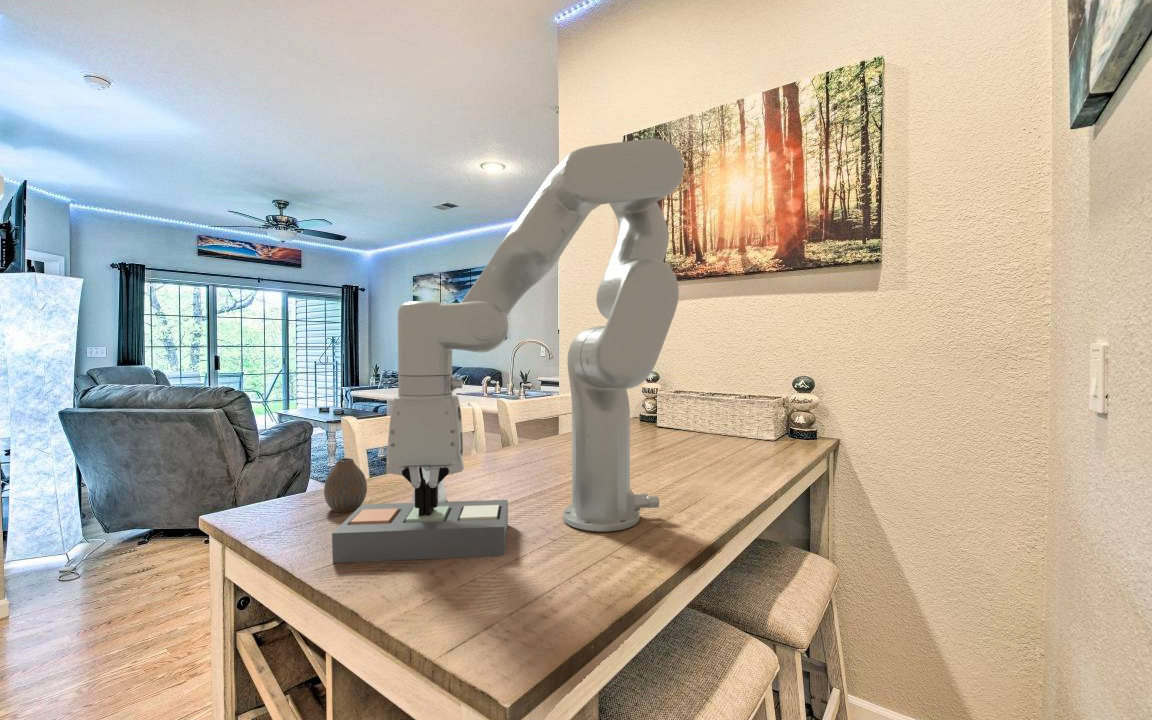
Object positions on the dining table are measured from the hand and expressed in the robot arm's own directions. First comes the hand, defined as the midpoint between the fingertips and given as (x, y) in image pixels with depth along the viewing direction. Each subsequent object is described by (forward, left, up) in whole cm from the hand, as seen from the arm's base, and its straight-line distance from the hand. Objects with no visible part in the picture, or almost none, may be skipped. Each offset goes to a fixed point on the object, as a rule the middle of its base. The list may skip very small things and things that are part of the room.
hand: (426, 512), depth 74 cm
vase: (+17, -17, -5) cm, 25 cm away
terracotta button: (+7, 0, -4) cm, 8 cm away
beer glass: (+3, -19, -5) cm, 20 cm away
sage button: (0, 0, -4) cm, 4 cm away
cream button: (-8, 0, -4) cm, 9 cm away
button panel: (0, 0, -4) cm, 4 cm away
